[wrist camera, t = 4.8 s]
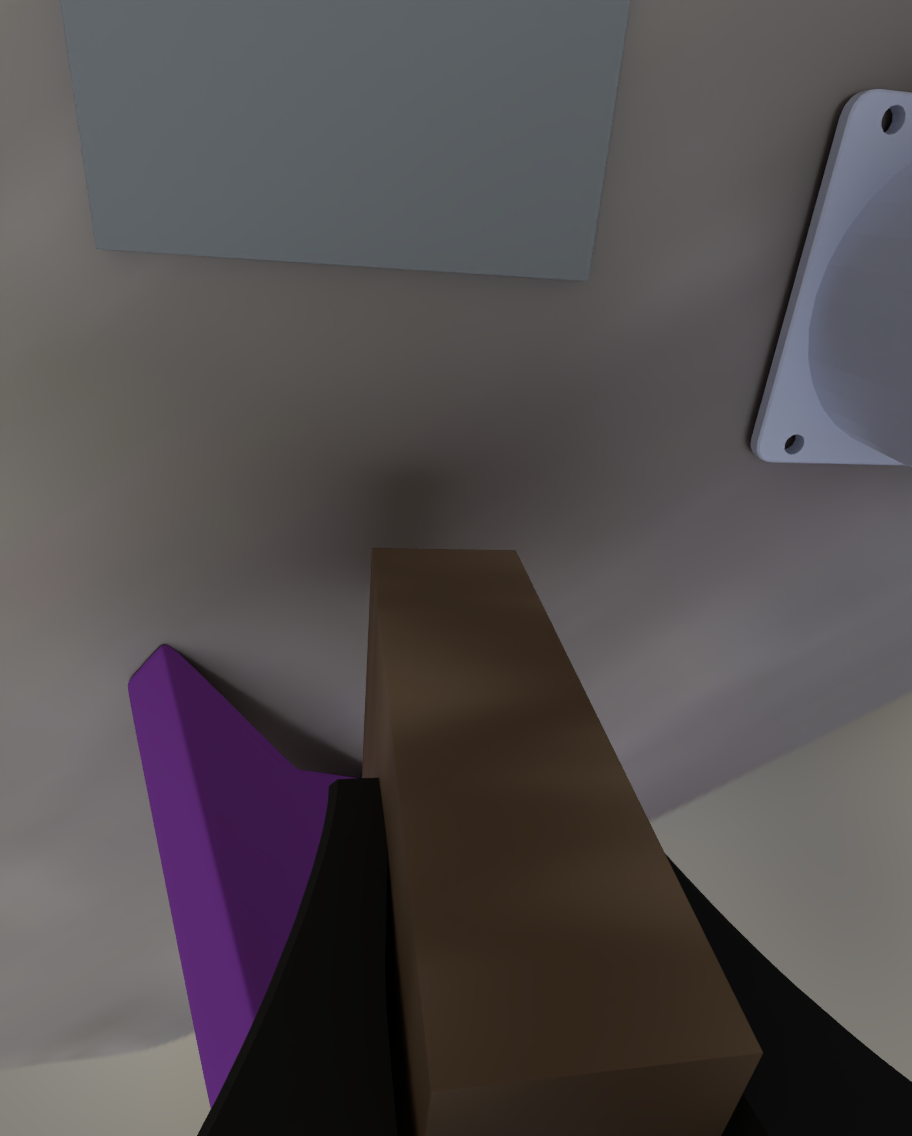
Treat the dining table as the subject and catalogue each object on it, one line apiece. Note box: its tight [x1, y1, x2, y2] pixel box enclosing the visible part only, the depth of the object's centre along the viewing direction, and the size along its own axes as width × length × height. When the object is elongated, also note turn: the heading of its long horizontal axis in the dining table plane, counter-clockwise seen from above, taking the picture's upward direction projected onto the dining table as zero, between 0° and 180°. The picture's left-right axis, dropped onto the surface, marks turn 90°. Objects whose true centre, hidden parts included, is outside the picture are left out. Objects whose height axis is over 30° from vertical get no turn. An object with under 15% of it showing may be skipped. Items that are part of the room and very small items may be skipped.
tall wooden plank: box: [362, 548, 763, 1136], centre depth 10 cm, size 2×5×8 cm, turn 175°
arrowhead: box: [128, 645, 354, 1108], centre depth 19 cm, size 10×2×10 cm
